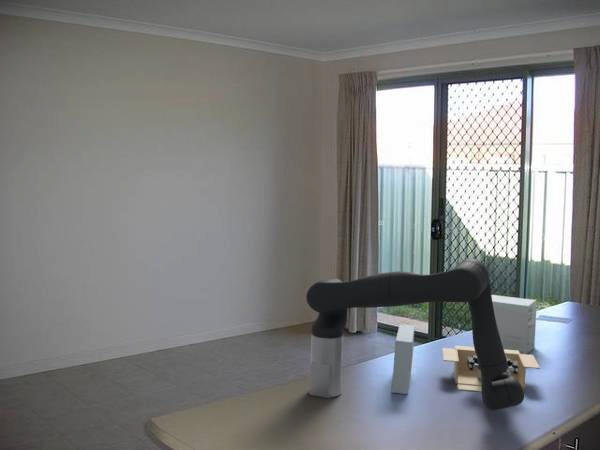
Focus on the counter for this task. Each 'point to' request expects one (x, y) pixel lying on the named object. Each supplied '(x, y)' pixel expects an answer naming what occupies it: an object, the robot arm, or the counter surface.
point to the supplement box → (515, 322)
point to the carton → (469, 377)
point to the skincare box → (403, 359)
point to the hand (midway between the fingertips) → (490, 357)
